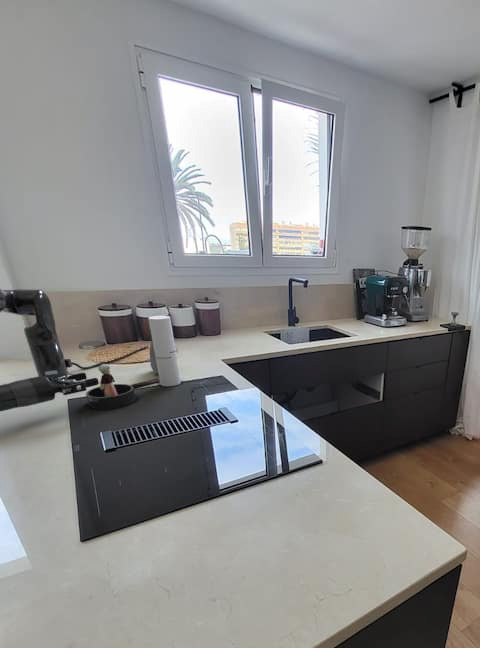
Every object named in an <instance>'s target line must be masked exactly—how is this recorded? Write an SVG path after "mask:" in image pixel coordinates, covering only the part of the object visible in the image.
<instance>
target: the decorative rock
mask: <svg viewBox="0 0 480 648" xmlns="http://www.w3.org/2000/svg"><path fill="white" fill-rule="evenodd" d="M149 361H150V367H151V370H152V371H153V373H155V375H156V376H159V373H158V368H157V362H156V357H155V352H154V346H153V341H152V340H151V341H150V345H149Z"/></svg>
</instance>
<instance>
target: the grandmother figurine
mask: <svg viewBox="0 0 480 648" xmlns="http://www.w3.org/2000/svg"><path fill="white" fill-rule="evenodd" d="M97 370H98V371H99V372H100V373H101V374H102V375H101V378H100V382H99V387H100V389H101V390H103V389H104V388H103V387H104V386H105V389H104V393H105V397H111V396H116V395H118V394H117V392H116V389H115V387H114V385H113V384H114V383H116V379H115V378H114V375H112V374H111V366H110V365H109V364H108V363H106V364H102V365H99V366H98V369H97Z"/></svg>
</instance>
